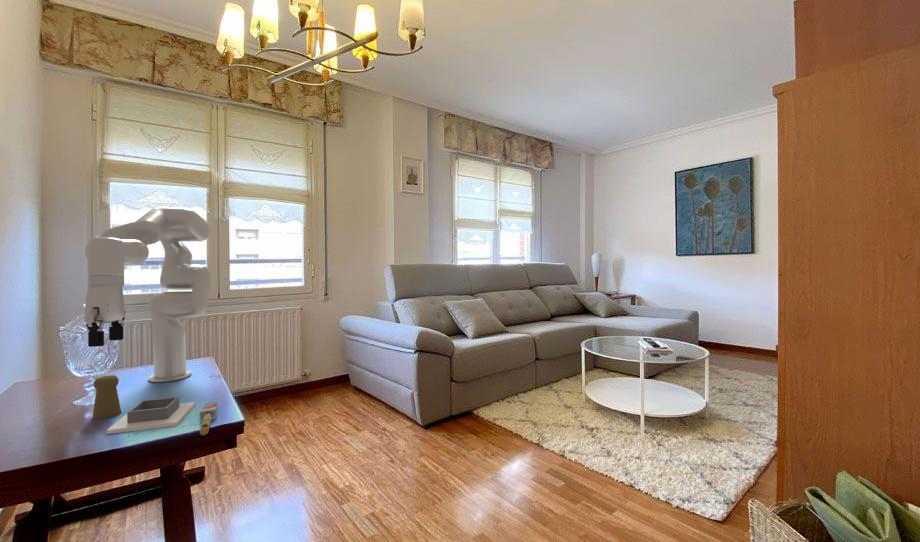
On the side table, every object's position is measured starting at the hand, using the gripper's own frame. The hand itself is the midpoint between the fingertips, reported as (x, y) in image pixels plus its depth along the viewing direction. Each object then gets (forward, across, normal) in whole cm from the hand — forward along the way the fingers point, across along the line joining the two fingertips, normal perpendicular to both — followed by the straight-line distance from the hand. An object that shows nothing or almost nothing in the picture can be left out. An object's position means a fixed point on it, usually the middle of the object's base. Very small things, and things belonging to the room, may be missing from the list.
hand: (106, 343), depth 109 cm
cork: (+20, 0, 0) cm, 21 cm away
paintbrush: (+21, +12, +28) cm, 37 cm away
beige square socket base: (+20, +6, +14) cm, 25 cm away
